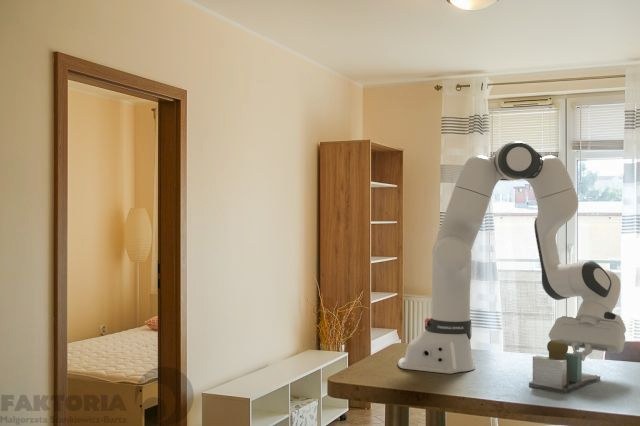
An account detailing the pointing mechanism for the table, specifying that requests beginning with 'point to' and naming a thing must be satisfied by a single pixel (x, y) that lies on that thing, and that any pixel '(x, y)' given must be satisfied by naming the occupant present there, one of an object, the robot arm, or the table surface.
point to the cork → (558, 352)
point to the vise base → (556, 376)
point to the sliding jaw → (574, 367)
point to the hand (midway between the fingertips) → (577, 358)
